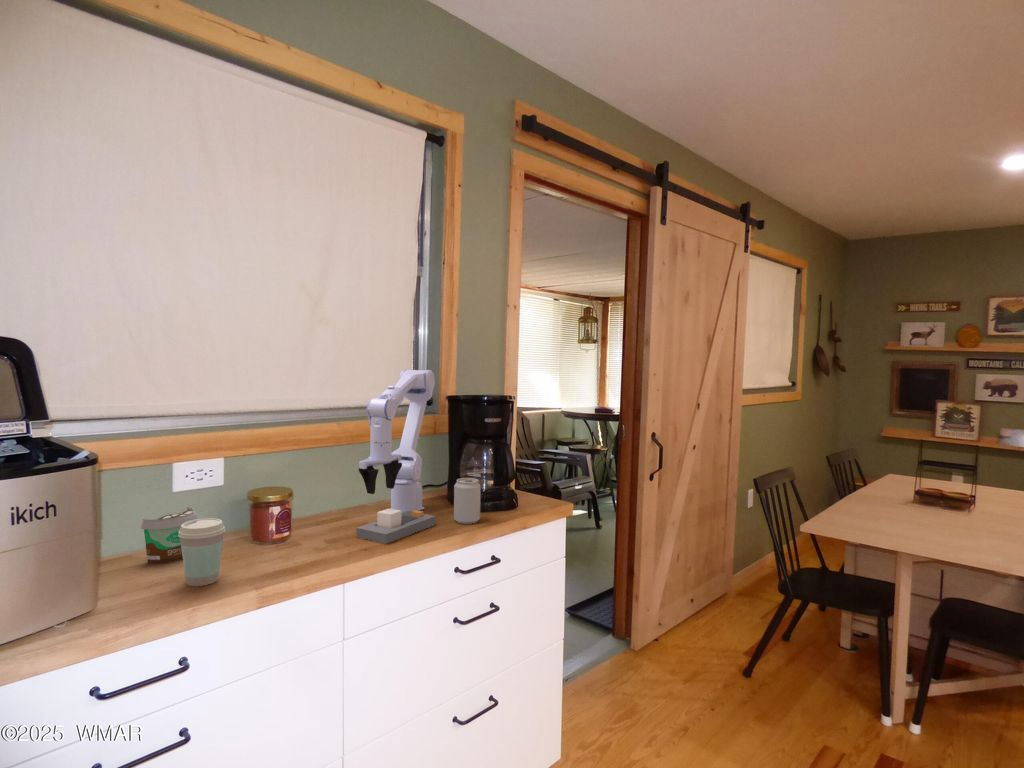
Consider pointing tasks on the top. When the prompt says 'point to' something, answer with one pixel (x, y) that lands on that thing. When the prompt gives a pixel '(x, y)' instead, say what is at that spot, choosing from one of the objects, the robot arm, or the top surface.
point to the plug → (389, 518)
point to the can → (467, 500)
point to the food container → (165, 536)
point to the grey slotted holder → (409, 525)
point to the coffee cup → (201, 550)
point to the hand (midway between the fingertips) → (380, 490)
